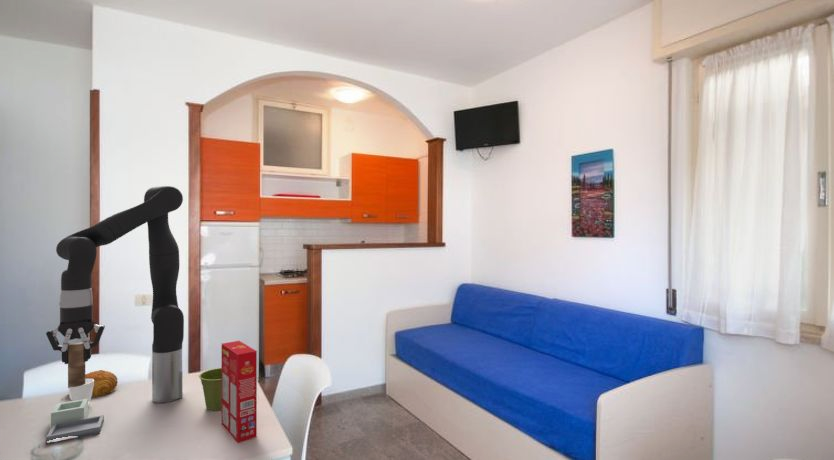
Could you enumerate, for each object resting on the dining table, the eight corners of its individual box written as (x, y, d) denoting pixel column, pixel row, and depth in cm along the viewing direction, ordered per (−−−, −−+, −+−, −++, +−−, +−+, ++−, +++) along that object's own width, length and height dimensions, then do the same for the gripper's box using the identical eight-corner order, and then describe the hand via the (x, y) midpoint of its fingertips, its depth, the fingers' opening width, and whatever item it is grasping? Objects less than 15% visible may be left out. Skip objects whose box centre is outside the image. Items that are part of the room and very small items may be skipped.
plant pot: (204, 417, 133) (204, 382, 133) (194, 405, 142) (194, 372, 142) (242, 407, 141) (242, 374, 141) (231, 396, 150) (231, 365, 150)
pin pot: (88, 413, 136) (88, 398, 136) (83, 423, 129) (83, 407, 129) (57, 419, 132) (57, 403, 132) (50, 429, 125) (50, 413, 125)
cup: (76, 411, 137) (76, 387, 137) (58, 406, 141) (57, 383, 141) (99, 403, 144) (99, 379, 144) (81, 398, 148) (81, 376, 147)
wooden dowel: (86, 381, 126) (86, 341, 126) (84, 385, 123) (84, 344, 123) (69, 383, 124) (69, 343, 124) (66, 388, 121) (66, 346, 121)
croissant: (114, 386, 165) (115, 366, 166) (119, 393, 153) (120, 370, 154) (66, 395, 155) (67, 373, 156) (68, 402, 144) (69, 378, 144)
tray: (103, 421, 131) (103, 414, 131) (99, 433, 123) (99, 426, 123) (54, 430, 125) (53, 423, 125) (46, 444, 117) (46, 436, 117)
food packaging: (256, 436, 121) (256, 351, 121) (237, 443, 118) (237, 354, 118) (239, 419, 132) (239, 340, 132) (221, 424, 129) (221, 343, 129)
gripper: (108, 300, 130) (107, 355, 130) (48, 304, 123) (48, 362, 123) (104, 304, 124) (104, 361, 124) (41, 308, 117) (41, 370, 117)
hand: (76, 361), depth 124 cm, fingers closed on wooden dowel, 4 cm apart
